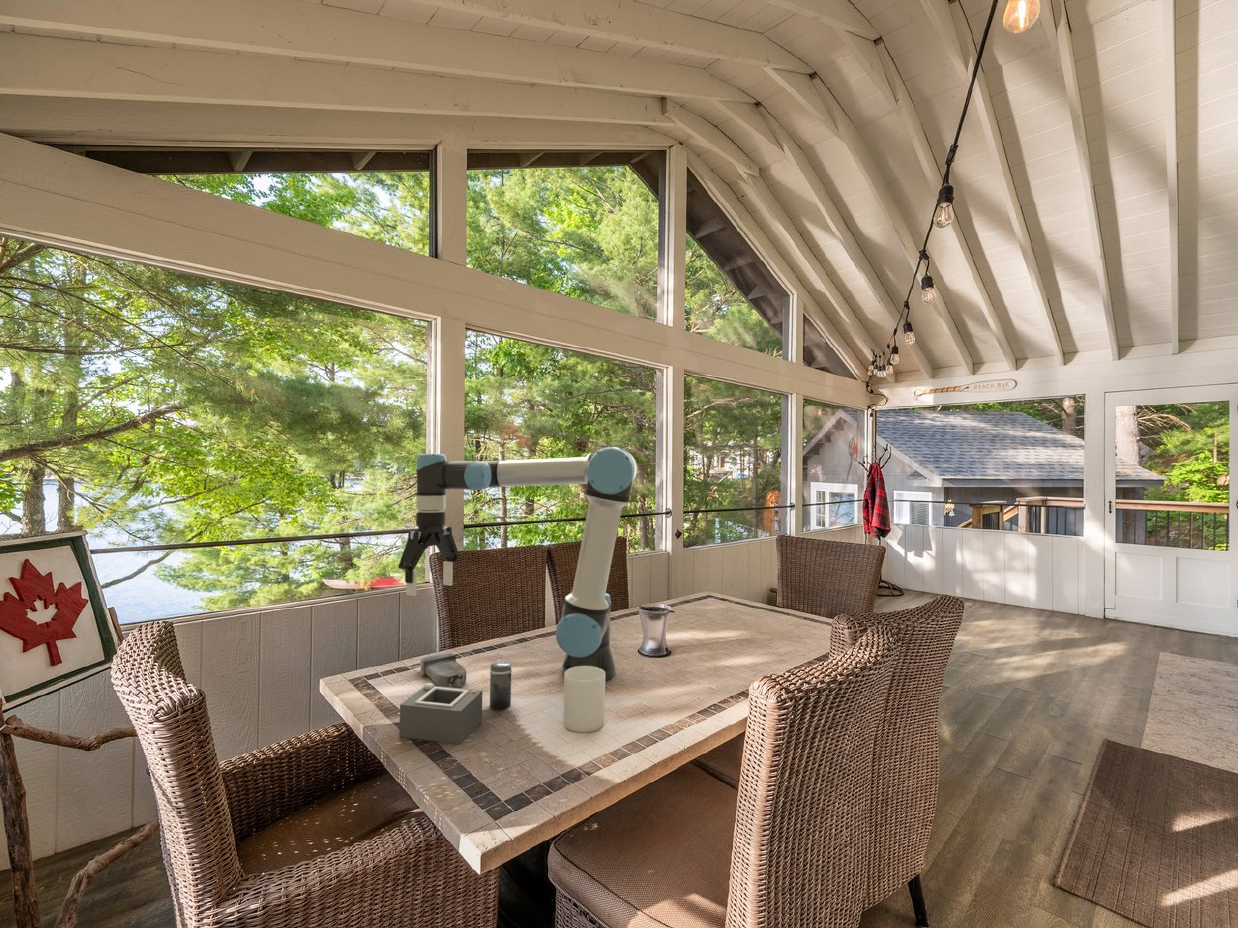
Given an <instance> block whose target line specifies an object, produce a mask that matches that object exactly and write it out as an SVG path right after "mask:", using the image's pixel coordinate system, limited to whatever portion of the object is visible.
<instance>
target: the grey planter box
mask: <svg viewBox="0 0 1238 928" xmlns="http://www.w3.org/2000/svg"><path fill="white" fill-rule="evenodd" d="M482 721H483V690H479V689H472V688H471V689H470V688H469V689H468V688H462V687H460V688H458V687H455V688H452V687H442V686H440V685H434V683H432V682H427V683H424V684H423V687H422V688H420V689H419V690H417V691H416V692H415V693H414V694H412V695H411V696H409V697H407V699H405V700H404V701H403V702H402V703H400V704H399V731H398V733H399V738H404V739H405V738H406V739H413V740H419V741H422V740H423V741H429V742H439V743H447V744H454V745H461V744H462V743H463V742H464V741H465V740H466V739H467V737H468V736H469V735H470V734H471V733H473V731H474V730H475V729H476V728H477V727H478V726H479V724H480V723H482Z"/></svg>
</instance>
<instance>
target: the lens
mask: <svg viewBox="0 0 1238 928" xmlns="http://www.w3.org/2000/svg"><path fill="white" fill-rule="evenodd" d="M512 672H513V667H512V663H511V662H508V661H496V662H493V663H492V664H491V665H490V669H489V673H490V679H489V681H490V682H489V683H490V684H489V686H490V687H489V708H490V709H491V710H493V711H505V710H508V709H509V708H511V706H512V704H511V702H512V700H511V699H512V698H511V697H512Z"/></svg>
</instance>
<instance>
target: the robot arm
mask: <svg viewBox="0 0 1238 928" xmlns="http://www.w3.org/2000/svg"><path fill="white" fill-rule="evenodd" d="M415 473H416V500H415V501H416V507H415V509H416V510H417V512H416V513H415V524H416V526H417V527H418V530H417V531H413V530H410V531H408V536H407V541H406V544H405V547H404V550H403V552H402V555H401V558H400V561H399V564H398V569H400V570H403V571H404V582H405V583H406V594H405V595H406V596H413V597H417V593H418V592H417V588H418V587H417V585H418V583H417V581H418V579H417V577H418V575H417V574H418V572H417V571H418V570H417V569H415V568H416V567H417V564H418V563H419V561H420V560H421V557H422V556H423V554H424V552H425V551H426V549H428V548H429V547H433V546H436V548H437V550H438V551H439V552H440V554H441V556H442V557H443V559H444V560H445V561H443V562H442V567H443V568H442V570H443V571H442V585H444V586H453V582H454V581H453V579H454V578H453V573H454V570H455V569H454V562H457V561H458V559H459V557H460V552H459V550H458V548H457V545H456V542H455V539H454V536H453V530H452V529H453V528H452V527H451V526H445V525H446V520H447V519H446V512H445V510H446V508H447V505H446V504H447V497H446V495H447V494H446V493H447V490H467V491H468V490H473V491H479V490H486V489H488V488H501V487H502V488H503V487H504V488H506V487H530V486H531V487H532V486H537V487H538V486H558V485H559V486H562V485H586V487H585V492H584V496H585V497H586V499H587V500H588V503H589V504H588V506H587V507H588V508H587V513H586V517H585V524H584V530H583V534H582V539H581V544H580V549H579V555H578V560H577V565H576V570H575V576H574V581H573V585H572V586H573V587H572V591H571V592H570V593H569V594H567V595H565V597H564V601H563V602H564V603H563V606H562V612H561V617H560V620H559V622H557V625H556V629H555V639H556V642H557V645H558V646H559V648H560V649H561V650H562V651H563V652H564V653H565V656H564V659H563V662H562V666H561V674H562V676H563V677H564V672H565V671H566V670H568V669H569V668H572V667H577V666H593V667H597V668H600V669H602V670H604V671H605V682H606V681H608V680H611V679H612V678H613V677H615V675H616V664H615V661H614V656H613V654H612V650H611V645H610V644H611V643H610V639H611V606H612V602H611V595H610V594H609V593H607V592H606V591H607V586H608V582H609V578H610V577H609V576H610V572H611V571H610V570H611V566H612V561H613V556H614V552H615V551H614V550H615V547H616V546H615V545H616V541H617V535H618V531H619V530H618V529H619V524H620V520H621V516H622V509H623V508H624V507H625V506H628V504H629V503H630V498H631V493H632V488H633V485H634V484H633V483H634V482H635V480H636V477H637V474H638V464H637V461H636V459H635V457H634V456H633V455H632V453H630V452H629V451H627V450H625V449H623V448H620V447H617V446H607V447H603V448H601V449H598V450H597V451H596V452H595V453H594V452H593V453H588V454H587V455H586V456H585V457H581V456H580V457H563V458H562V457H561V458H558V457H557V458H538V459H537V458H536V459H535V458H534V459H516V460H514V459H513V460H494V461H493V460H490V461H489V460H487V461H486V460H485V461H480V460H479V461H478V460H473V461H470V460H469V461H467V460H466V461H461V460H460V461H451V460H450V461H449V460H447V457H446V454H445V453H420V454H418V456H417V458H416V469H415Z"/></svg>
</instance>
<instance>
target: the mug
mask: <svg viewBox="0 0 1238 928" xmlns="http://www.w3.org/2000/svg"><path fill="white" fill-rule="evenodd" d="M563 680H564V681H563V683H564V684H563V714H562V715H563V719H562V721H563V725H564V726H565V727H566V728H567V729H568V730H569V731H572V732H575V733H585V734H586V733H593V732H596V731H598V730H599V729H601V728H602V726H603V725H604V723H605V712H606V711H605V708H606V707H605V706H606V704H605V702H606V681H605V671H604V670H602V669H600V668H597V667H593V666H577V667H572V668H569V669H568V670H566V671H565V672H564V676H563Z"/></svg>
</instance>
